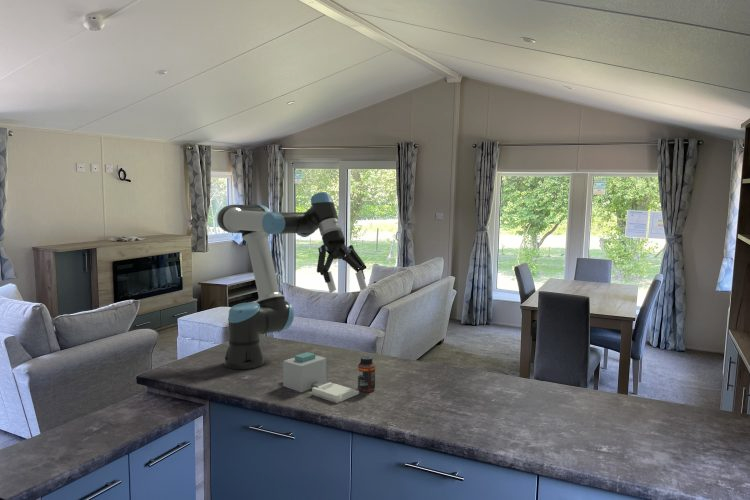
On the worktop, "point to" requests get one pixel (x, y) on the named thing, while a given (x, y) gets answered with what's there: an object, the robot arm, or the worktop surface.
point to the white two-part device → (313, 378)
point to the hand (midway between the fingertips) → (348, 290)
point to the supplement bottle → (366, 374)
